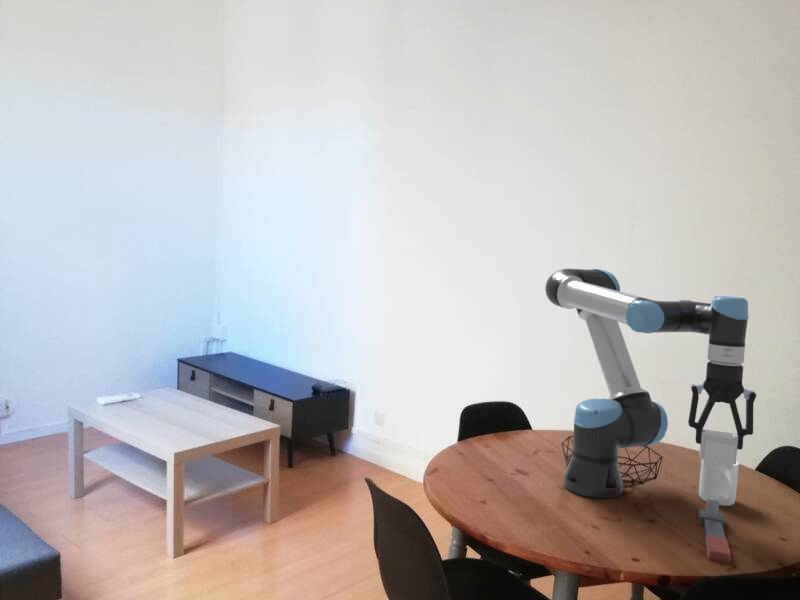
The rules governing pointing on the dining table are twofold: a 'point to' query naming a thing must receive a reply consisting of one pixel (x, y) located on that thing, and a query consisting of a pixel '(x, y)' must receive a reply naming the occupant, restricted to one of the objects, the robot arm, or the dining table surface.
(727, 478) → the mug
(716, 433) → the white ridged cube
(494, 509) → the dining table surface
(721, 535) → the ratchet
